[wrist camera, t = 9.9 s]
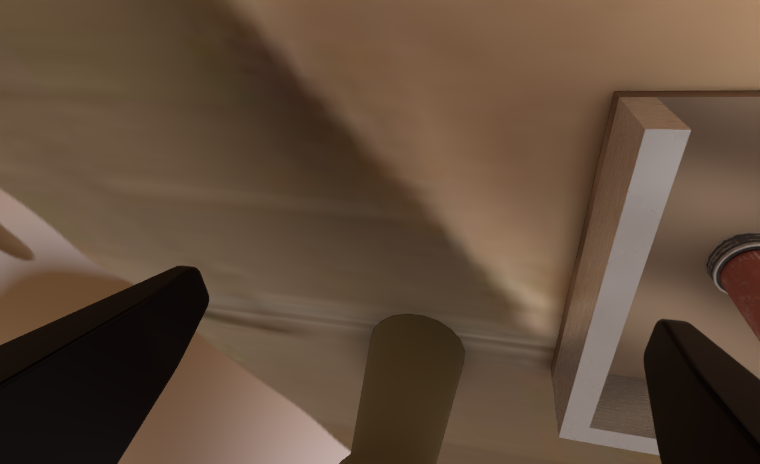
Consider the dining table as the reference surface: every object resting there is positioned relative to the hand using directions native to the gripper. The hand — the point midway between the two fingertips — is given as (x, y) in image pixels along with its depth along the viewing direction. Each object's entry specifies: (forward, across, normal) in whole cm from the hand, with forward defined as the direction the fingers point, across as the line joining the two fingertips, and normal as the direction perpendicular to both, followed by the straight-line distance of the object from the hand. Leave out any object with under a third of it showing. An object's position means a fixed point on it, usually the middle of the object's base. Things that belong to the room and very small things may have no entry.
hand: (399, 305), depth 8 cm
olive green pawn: (+12, +2, +15) cm, 19 cm away
